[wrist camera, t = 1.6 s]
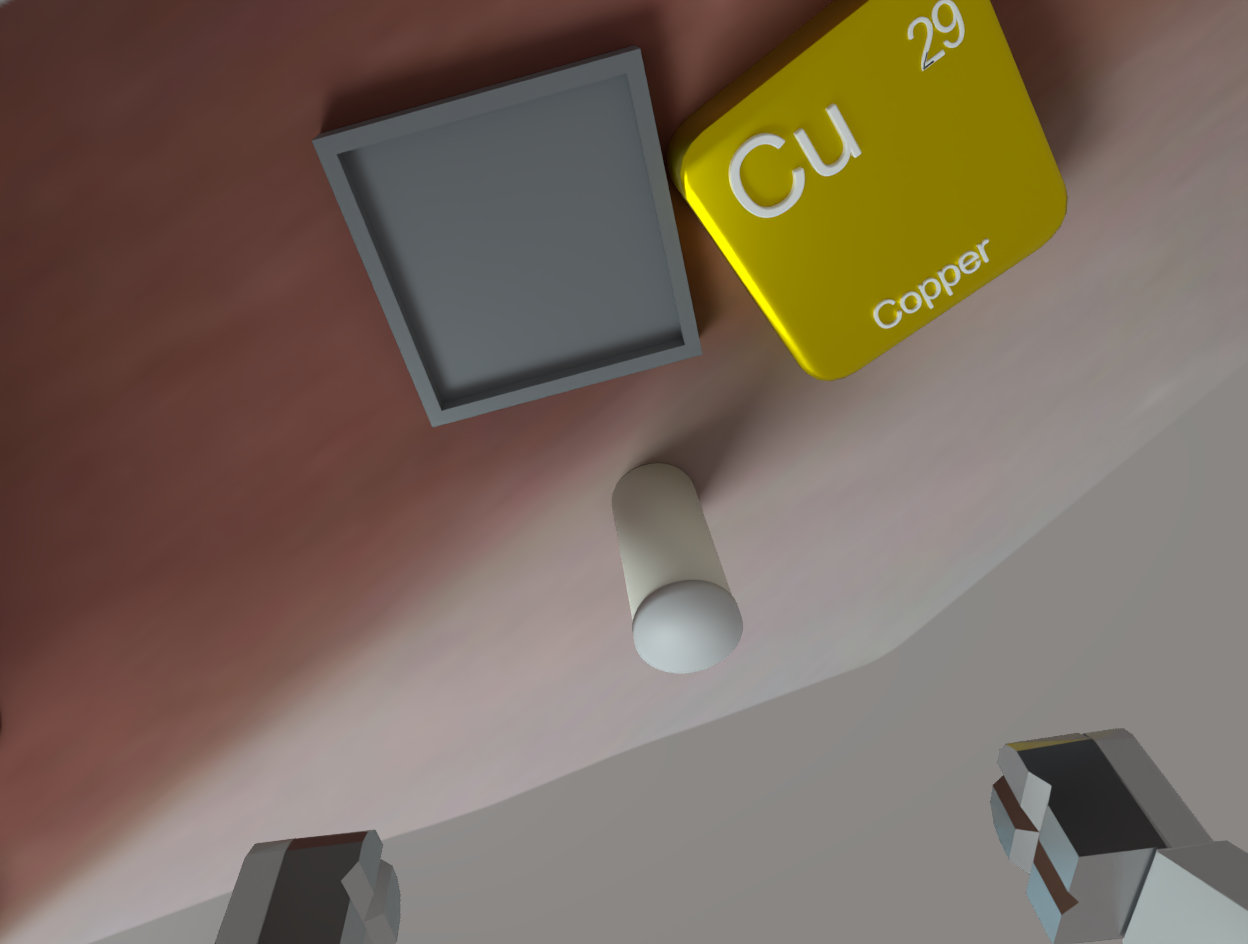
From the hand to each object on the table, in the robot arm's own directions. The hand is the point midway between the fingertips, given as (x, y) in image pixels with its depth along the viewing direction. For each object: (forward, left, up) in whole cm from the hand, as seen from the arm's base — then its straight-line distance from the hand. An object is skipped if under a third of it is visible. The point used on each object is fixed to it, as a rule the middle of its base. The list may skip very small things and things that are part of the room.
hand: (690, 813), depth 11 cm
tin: (+1, -19, -35) cm, 40 cm away
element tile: (+15, -3, -36) cm, 39 cm away
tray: (-2, -2, -35) cm, 35 cm away
